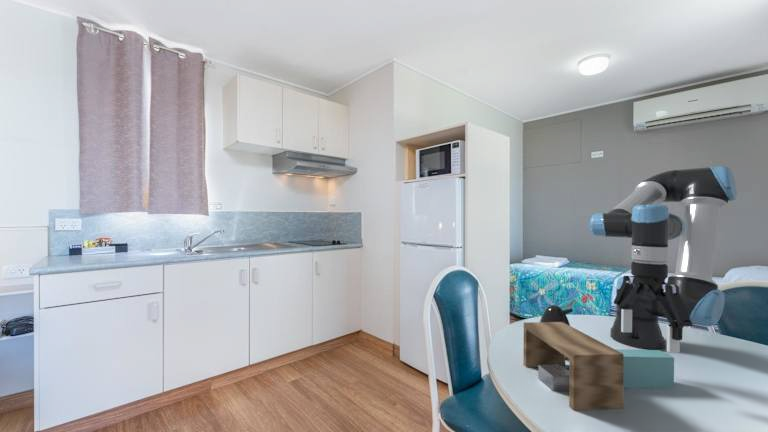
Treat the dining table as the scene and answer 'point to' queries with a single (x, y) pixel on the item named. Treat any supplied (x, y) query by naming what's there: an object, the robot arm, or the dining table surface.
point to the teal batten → (647, 368)
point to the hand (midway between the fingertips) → (647, 341)
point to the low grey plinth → (554, 376)
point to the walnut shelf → (577, 363)
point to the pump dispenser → (555, 314)
